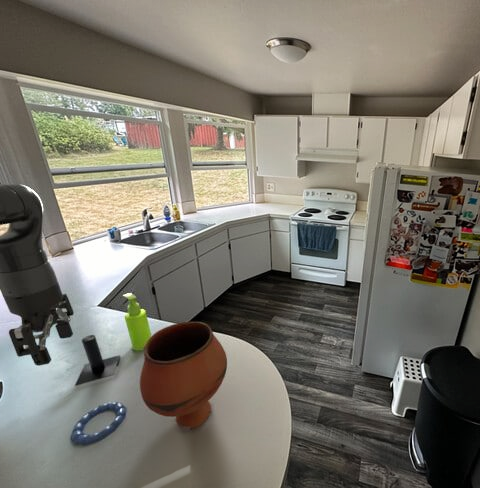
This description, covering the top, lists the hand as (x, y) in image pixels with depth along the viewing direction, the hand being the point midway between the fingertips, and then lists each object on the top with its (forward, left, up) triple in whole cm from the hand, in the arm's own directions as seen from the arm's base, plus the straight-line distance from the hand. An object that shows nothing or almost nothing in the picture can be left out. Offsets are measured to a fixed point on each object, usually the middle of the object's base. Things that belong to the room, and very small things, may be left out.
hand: (56, 349), depth 56 cm
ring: (+3, -2, -23) cm, 23 cm away
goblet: (+24, -9, -24) cm, 36 cm away
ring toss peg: (-2, +19, -24) cm, 31 cm away
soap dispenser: (+8, +28, -24) cm, 38 cm away
